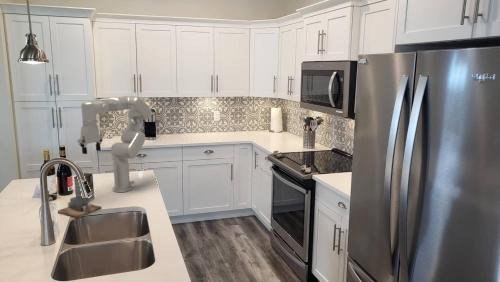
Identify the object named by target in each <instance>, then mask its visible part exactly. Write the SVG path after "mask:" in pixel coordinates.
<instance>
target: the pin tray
mask: <svg viewBox="0 0 500 282" xmlns="http://www.w3.org/2000/svg"><path fill="white" fill-rule="evenodd" d="M67 205H68V206H67V207H64V208H62V209H59V210H57V211H58V213H57V214H60V215H64V216H67V217H70V218H74V219H80V218H82V217H84V216H87V215H89V214H91V213H95V212H96V211H98V210H101V209H102V206H100V205H97V204H91V203H88V205H87V207H88V209H86V206H83V211H77V210H73V209H71V203H70V202H69V201H68V202H67Z"/></svg>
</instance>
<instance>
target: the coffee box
mask: <svg viewBox="0 0 500 282" xmlns="http://www.w3.org/2000/svg"><path fill="white" fill-rule="evenodd" d="M83 173H84V176H85V179H86V181H87V182H88V185H89V187H90V189H91V192H92V196H91V197H90V198H88V203H89V202H91V201H92V200H94V199H95V190H94V188H95V187H94V176H93V173H91V172H83ZM77 176H78V175H76V176H74V177H73V181H74V191H75V197H77V196H80V197H82V196H81V191H80V186H79V182H78V179H77Z"/></svg>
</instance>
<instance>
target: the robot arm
mask: <svg viewBox="0 0 500 282" xmlns="http://www.w3.org/2000/svg"><path fill="white" fill-rule="evenodd" d="M80 109H81V118H82V126H80V138H78V140H77V143H78V145H79V146H80V148H81V153H82V154H84V155H87V154H88V148H87V145H88V144H93V143H96V144H95V150H96V151H97V152H101V148H102V147H101V144H102V142H103V139H104V135H101V134H100V129H99V126H98V119H97V114H100V115H103V114H106V113H108V112H119V111H125V110H127V116H128V124H127V126H126V128H125V129H124V131H123V132H122V134H121V136H120V140H121V142H116V143H112V145H111V147H110V154H111V157H112V163H113V177H114V178H113V179H114V182H113V183H114V187H112V191H113V192H114V193H127V192H130V191H132V190H133V186H132V185H134V184H135V183H136V182H135V180H131V181H130V163H129V160H128V159H135V158H136V157H137V156H138V155H139V152H140V151H141V149H142V148H143V145H145V141H146V135H145V133H144V132H143V131H141V129H142V126H141V122H140V120H149V119H151V117H152V115H153V113H152V111H153V110H152V109H151V107H150V106H149V105H148V104H147V103H146V101H144V99H142V98H141V97H140V96H137V95H136V96H132V95H125V96H119V97H118V96H117V97H108V98H100V99H99V98H98V99H90V100H88V101H83V102H82V103H81V108H80Z"/></svg>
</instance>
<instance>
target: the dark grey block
mask: <svg viewBox="0 0 500 282" xmlns="http://www.w3.org/2000/svg"><path fill="white" fill-rule="evenodd" d="M69 201H70V203H71V209H73V210H77V211H83V206H86V209H88V207H87V205H88V204H89V202H88V198H82V197H80V196H77V197H76V196H75V197H71V198H70V200H69Z"/></svg>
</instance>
